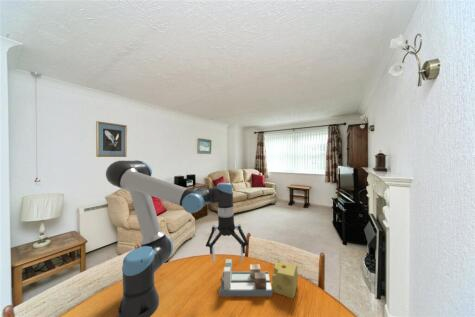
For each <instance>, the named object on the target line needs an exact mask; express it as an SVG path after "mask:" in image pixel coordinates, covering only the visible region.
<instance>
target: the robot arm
mask: <svg viewBox="0 0 475 317" xmlns="http://www.w3.org/2000/svg"><path fill="white" fill-rule="evenodd" d="M105 177H106V180H107V181H108V183H110V184H111V185H112V186H114V187H117V188H119V189H123V190H125V191H127V192H129V194H130V196H131V197H130V198H131V200H132V203H133V208H134V212H135V215H136V218H137V223H138V226H139V229H140V233H141V236H142V237H141V238H142V239H141V241H140V246H139V247H137V248H134V249H132V250H131V251H129V252H128V253H127V254H126V255H125V256H124V258H123V261H122V266H121V270H122V297H121V300H120V303H119V306H118V308H117V317H150V316H152V315H153V314H154V313H155V312H156V311H157V309H158V307H159V305H160V296H159V293H158V291H157V288H156V285H155V273H156V272H157V271H158V270H159V269H160V267H162V265H164V264H165V262H167V261H168V260H169V258H170V257H171V255H172V253H173V250H174V244H173V241H172V239H171V238H170V237H169V236H167V235H166V233H165V232H164V231H162V229H161V226H160V223H159V219H158V216H157V211H156V208H155V205H154V201H153V198H152V197H154V198H157V199H160V200H163V201H164V202H168V203H171V204H174V205H177V206H180V207H182V208H183V210H184V211H185V212H187V213H189V214H194V213H196V212H199V211H200V210H202V209H203V207H205V206H207V205H208V204H217V215H218V217H217V221H218V222H217V225H215V224H214V225H212V227H211V233H210V235H209V236H208V239H207V241H206V243H205V247H206V248H207V247H208V248H209V255H212V256H211V259H212V261H211V262H212V263H215V260H216V253H215V252H216V250H215V244H216V243H217V241H218V240H219V239H220V237H222V236H223V237H226V236H227V237H230V236H232V237H233V238H234V239H235V240H236V241H237V242H238V244H240V258H241V259H240V261H241V262H244V254H245V253H246V246H249V240H248V239H247V236H246V235H245V233H244V231H243V230H242V225H241V223H239V224H237V225H235V217H234V214H235V213H234V212H235V211H234V210H235V209H234V192H233V190H234V189H233V185H232V183H230V182H219V183H217V184H216V187H198V188H197V187H196V188H194V189H189V188H187V187H184V186H180V185H177V184H175V183H171V182H168V181H166V180H163V179H160V178H157V177H154V176H153V169H152V168H151V166H150V165H149V163H147V162H145V161H143V160H142V161H141V160H136V159H135V160H117V161H114V162H112V163H111V164H109V166H108V167H107V169H106V171H105ZM235 230H236V231H238V233H239V235H240V236H241V237H242V238H241V237H240V236H239V235H238V234H237V233H236V231H235ZM216 231H218V234H217V235H216V236H215V237H214V238H213V236H214V233H215V232H216ZM212 238H213V240H212Z"/></svg>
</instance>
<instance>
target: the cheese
mask: <svg viewBox="0 0 475 317" xmlns="http://www.w3.org/2000/svg"><path fill="white" fill-rule="evenodd" d="M271 281H272V283H271V288H272V293H274V294H277V295H282V296H285V297H287V298H291V299H294V298H295V296H296V292H297V287H298V284H299V282H298V265H297V264H293V263H289V262H283V261H280V260H277V261H276V263H275V265H274V266H273V273H272V276H271Z"/></svg>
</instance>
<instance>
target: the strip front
mask: <svg viewBox="0 0 475 317" xmlns="http://www.w3.org/2000/svg"><path fill="white" fill-rule="evenodd" d="M223 272H224V289H255V283H231V267H225V266H224V268H223ZM266 289H272V283H271V282H270V283H266Z"/></svg>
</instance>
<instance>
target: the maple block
mask: <svg viewBox="0 0 475 317" xmlns="http://www.w3.org/2000/svg"><path fill="white" fill-rule="evenodd" d="M260 265H261V264H259V263H258V264H257V263H254V264H249V272H250V278H251V280H255V273H260V272H261V266H260Z"/></svg>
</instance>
